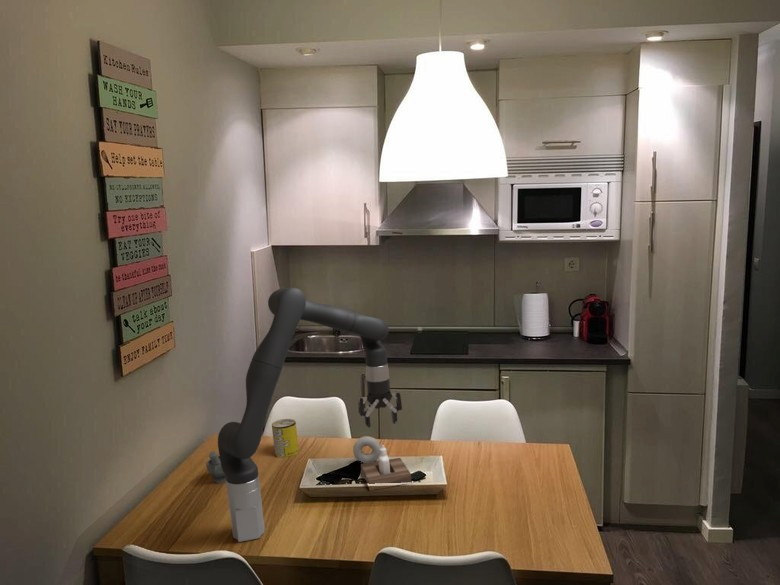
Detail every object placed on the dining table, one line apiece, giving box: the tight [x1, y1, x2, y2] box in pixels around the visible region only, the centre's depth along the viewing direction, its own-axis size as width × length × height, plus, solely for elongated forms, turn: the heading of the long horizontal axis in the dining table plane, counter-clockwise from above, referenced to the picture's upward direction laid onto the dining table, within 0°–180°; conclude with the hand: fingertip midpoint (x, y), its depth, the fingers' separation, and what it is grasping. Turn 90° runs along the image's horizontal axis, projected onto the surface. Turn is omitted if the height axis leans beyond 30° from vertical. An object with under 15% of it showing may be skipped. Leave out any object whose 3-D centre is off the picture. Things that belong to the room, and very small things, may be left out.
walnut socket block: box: [360, 457, 412, 484], centre depth 226 cm, size 14×14×4 cm
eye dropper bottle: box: [377, 444, 390, 475], centre depth 225 cm, size 4×6×12 cm
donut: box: [352, 436, 381, 464], centre depth 239 cm, size 10×4×10 cm, turn 89°
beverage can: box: [271, 418, 300, 459], centre depth 254 cm, size 9×9×12 cm
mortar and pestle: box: [205, 450, 226, 484], centre depth 235 cm, size 11×9×12 cm
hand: (381, 424), depth 223 cm, fingers open, 8 cm apart
